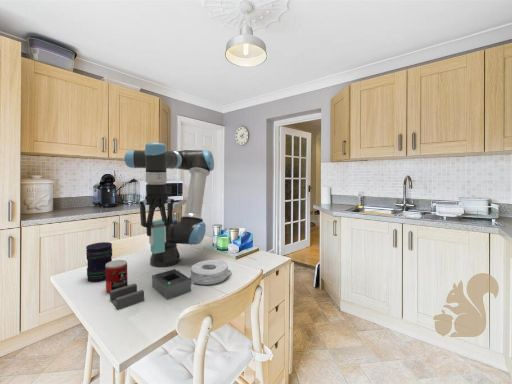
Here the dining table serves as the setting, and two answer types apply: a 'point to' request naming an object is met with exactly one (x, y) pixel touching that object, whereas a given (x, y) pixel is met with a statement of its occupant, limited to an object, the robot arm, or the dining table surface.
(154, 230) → the plug
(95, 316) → the dining table surface
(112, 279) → the canned food
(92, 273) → the storage jar
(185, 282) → the grey socket block
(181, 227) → the robot arm
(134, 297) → the grey slotted cradle
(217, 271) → the cable
